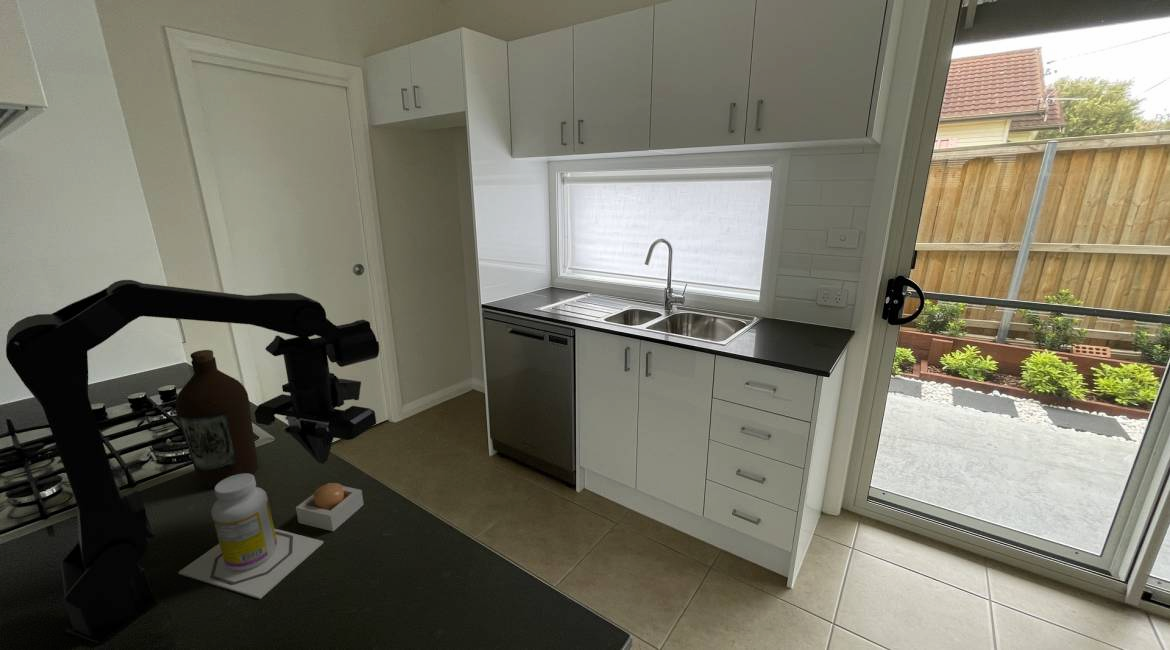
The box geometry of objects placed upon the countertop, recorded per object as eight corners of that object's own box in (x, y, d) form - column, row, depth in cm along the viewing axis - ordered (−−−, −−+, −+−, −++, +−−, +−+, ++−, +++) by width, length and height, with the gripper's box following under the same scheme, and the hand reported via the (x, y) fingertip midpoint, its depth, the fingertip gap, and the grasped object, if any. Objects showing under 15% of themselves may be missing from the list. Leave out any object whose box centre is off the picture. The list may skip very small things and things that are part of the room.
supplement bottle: (249, 538, 75) (232, 467, 71) (288, 541, 74) (273, 470, 70) (213, 571, 68) (193, 495, 65) (255, 575, 68) (237, 498, 64)
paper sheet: (260, 599, 64) (259, 596, 64) (178, 573, 68) (178, 571, 68) (323, 542, 74) (323, 540, 74) (249, 523, 78) (249, 521, 78)
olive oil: (212, 462, 95) (183, 344, 88) (271, 456, 98) (248, 341, 90) (182, 494, 85) (147, 365, 78) (248, 486, 88) (221, 360, 81)
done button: (331, 514, 78) (328, 501, 77) (309, 509, 79) (307, 496, 78) (350, 498, 82) (348, 485, 81) (329, 493, 83) (327, 481, 82)
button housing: (333, 531, 77) (330, 515, 76) (298, 522, 79) (295, 507, 78) (363, 504, 83) (361, 490, 82) (331, 497, 85) (328, 482, 84)
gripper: (393, 363, 79) (402, 446, 83) (303, 351, 83) (316, 430, 88) (343, 390, 68) (356, 483, 73) (244, 374, 73) (262, 462, 78)
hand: (323, 462), depth 78 cm, fingers closed
